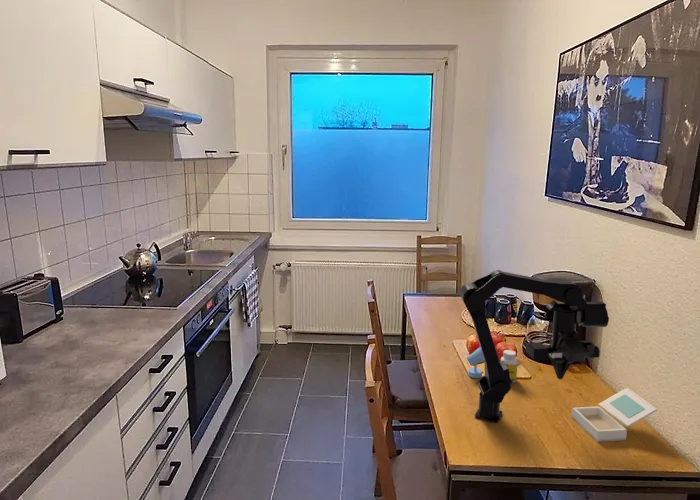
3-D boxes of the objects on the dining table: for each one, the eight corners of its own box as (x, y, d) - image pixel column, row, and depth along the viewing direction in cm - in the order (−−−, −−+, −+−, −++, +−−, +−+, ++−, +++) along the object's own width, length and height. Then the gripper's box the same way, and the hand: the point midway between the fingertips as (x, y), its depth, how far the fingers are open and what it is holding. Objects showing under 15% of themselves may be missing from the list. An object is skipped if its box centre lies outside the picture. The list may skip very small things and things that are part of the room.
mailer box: (596, 441, 123) (597, 431, 123) (571, 417, 135) (572, 407, 134) (625, 440, 124) (627, 429, 123) (598, 416, 136) (599, 406, 135)
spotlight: (482, 371, 164) (463, 372, 163) (484, 344, 162) (465, 345, 161) (489, 377, 159) (469, 379, 158) (490, 349, 158) (471, 351, 156)
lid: (656, 408, 123) (657, 410, 123) (626, 387, 135) (627, 389, 135) (625, 426, 123) (626, 428, 123) (598, 403, 135) (599, 405, 135)
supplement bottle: (497, 381, 157) (499, 353, 155) (500, 374, 162) (502, 347, 160) (514, 384, 154) (516, 356, 153) (517, 378, 159) (519, 350, 157)
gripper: (546, 337, 121) (541, 394, 123) (615, 335, 122) (609, 391, 125) (526, 322, 131) (522, 375, 134) (590, 320, 133) (585, 372, 136)
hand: (559, 378), depth 132 cm, fingers closed
